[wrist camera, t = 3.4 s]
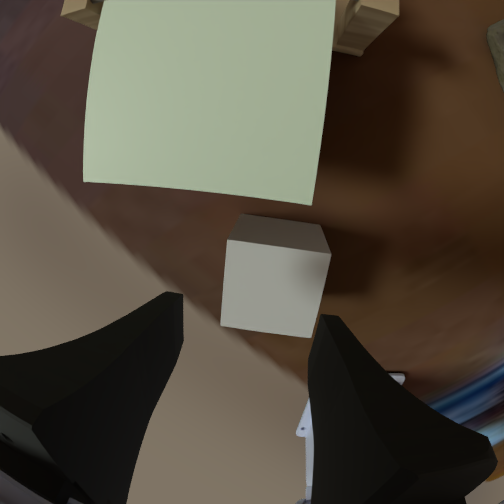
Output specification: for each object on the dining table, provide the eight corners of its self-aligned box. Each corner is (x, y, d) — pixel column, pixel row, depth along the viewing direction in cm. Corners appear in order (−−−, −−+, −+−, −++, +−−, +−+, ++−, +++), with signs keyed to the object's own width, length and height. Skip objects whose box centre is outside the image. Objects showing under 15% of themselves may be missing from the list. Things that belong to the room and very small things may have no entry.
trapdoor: (309, 199, 13) (312, 207, 11) (96, 177, 13) (79, 182, 12) (335, -50, 8) (339, -64, 7) (130, -46, 8) (118, -56, 7)
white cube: (306, 294, 21) (310, 337, 16) (233, 283, 21) (220, 325, 16) (320, 224, 19) (331, 254, 14) (241, 213, 19) (227, 239, 15)
